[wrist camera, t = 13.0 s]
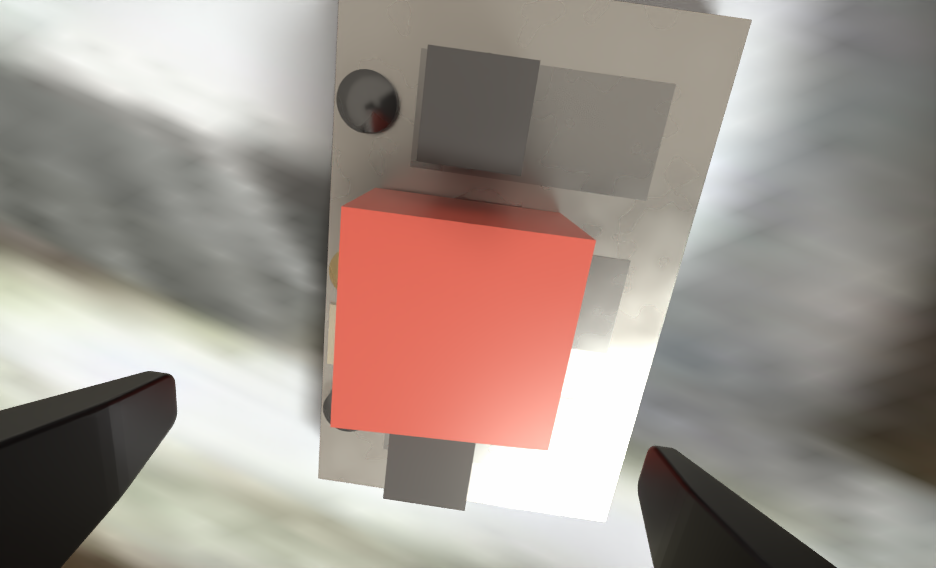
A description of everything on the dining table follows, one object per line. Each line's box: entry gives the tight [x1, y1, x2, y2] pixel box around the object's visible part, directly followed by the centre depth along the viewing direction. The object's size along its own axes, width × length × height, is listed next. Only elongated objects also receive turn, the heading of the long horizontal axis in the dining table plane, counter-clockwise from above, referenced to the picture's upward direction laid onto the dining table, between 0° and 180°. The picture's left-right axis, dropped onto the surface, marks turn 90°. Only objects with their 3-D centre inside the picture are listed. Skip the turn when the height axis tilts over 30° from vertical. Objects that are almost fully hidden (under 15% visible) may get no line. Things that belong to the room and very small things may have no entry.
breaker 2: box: [416, 45, 541, 176], centre depth 14 cm, size 3×3×3 cm
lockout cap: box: [330, 188, 596, 451], centre depth 15 cm, size 7×7×5 cm
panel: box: [318, 0, 752, 522], centre depth 18 cm, size 13×20×2 cm, turn 172°
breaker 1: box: [383, 434, 476, 511], centre depth 17 cm, size 3×3×3 cm
